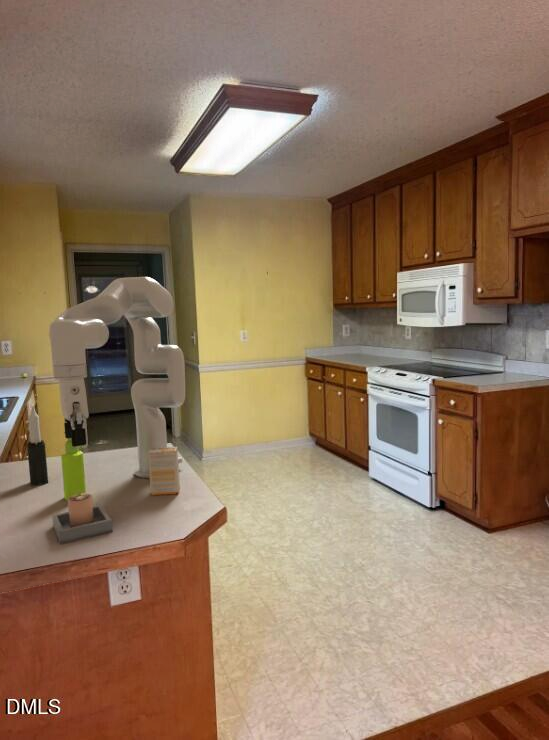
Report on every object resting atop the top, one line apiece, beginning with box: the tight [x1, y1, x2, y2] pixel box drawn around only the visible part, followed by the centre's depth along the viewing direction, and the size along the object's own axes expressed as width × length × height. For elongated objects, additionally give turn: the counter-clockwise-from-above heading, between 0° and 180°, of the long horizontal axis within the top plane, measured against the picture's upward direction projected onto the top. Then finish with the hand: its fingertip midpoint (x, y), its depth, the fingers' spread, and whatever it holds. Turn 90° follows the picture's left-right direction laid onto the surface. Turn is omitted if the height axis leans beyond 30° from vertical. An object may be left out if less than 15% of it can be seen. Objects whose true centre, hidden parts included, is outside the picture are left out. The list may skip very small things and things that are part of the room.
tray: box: [51, 504, 113, 545], centre depth 129 cm, size 12×12×3 cm
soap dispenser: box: [60, 431, 87, 501], centre depth 152 cm, size 6×7×20 cm
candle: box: [26, 405, 49, 486], centre depth 166 cm, size 5×5×25 cm
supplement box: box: [148, 446, 181, 496], centre depth 153 cm, size 8×5×13 cm, turn 94°
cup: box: [67, 492, 94, 528], centre depth 128 cm, size 6×6×8 cm
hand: (75, 441), depth 127 cm, fingers open, 9 cm apart
